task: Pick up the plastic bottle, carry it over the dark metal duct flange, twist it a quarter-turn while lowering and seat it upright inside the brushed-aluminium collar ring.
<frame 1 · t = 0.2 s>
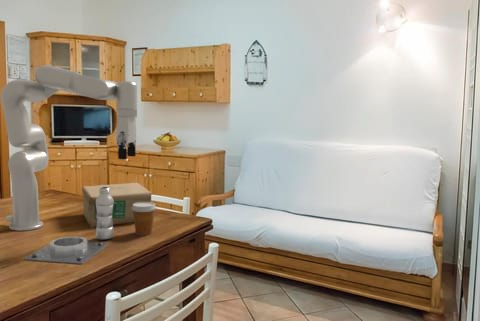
hand: (127, 157, 166), 31 cm above the table, fingers open, 9 cm apart
paper package: (116, 218, 194), on the table
duct flange: (68, 251, 148), on the table
plastic bottle: (104, 239, 163), on the table
disposable coffee cup: (143, 233, 171), on the table
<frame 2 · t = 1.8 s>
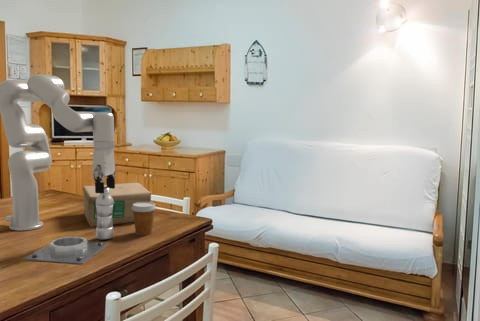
hand: (105, 190, 160), 19 cm above the table, fingers open, 9 cm apart
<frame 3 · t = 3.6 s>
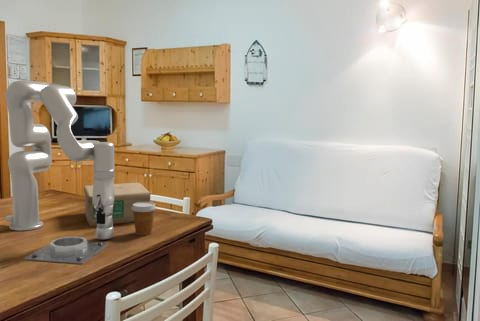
hand: (104, 221, 162), 7 cm above the table, fingers closed on plastic bottle, 5 cm apart
plastic bottle: (105, 239, 163), on the table, touching gripper
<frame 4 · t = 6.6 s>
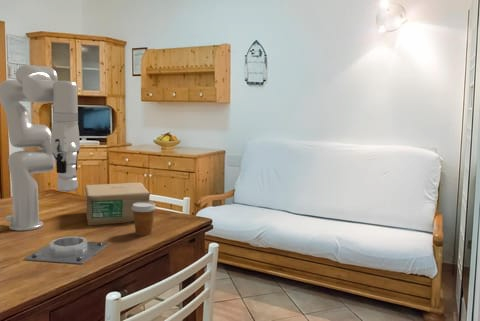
hand: (67, 171, 144), 28 cm above the table, fingers closed on plastic bottle, 5 cm apart
plastic bottle: (67, 192, 145), point 21 cm above the table, touching gripper
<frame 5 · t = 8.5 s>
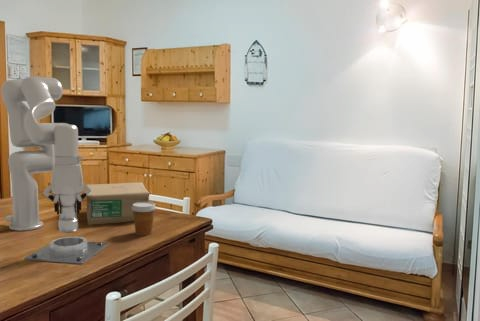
hand: (68, 212, 146), 14 cm above the table, fingers closed on plastic bottle, 5 cm apart
plastic bottle: (68, 232, 147), point 7 cm above the table, touching gripper
when the fingers open (8 cm above the table, at t = 9.9 s): plastic bottle stays where it is, resting on duct flange.
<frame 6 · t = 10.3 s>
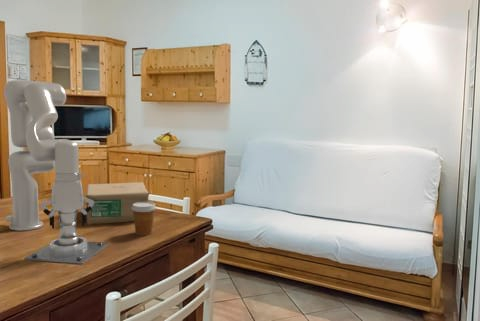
hand: (68, 226, 147), 9 cm above the table, fingers open, 9 cm apart
plastic bottle: (68, 250, 148), resting on duct flange
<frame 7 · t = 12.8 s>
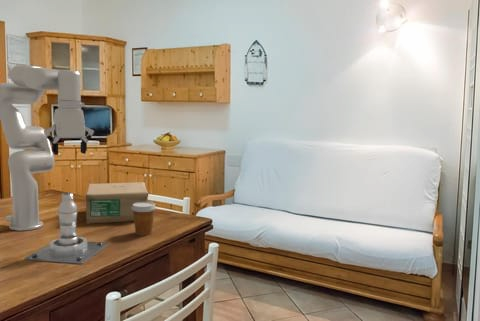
hand: (69, 153, 152), 33 cm above the table, fingers open, 9 cm apart
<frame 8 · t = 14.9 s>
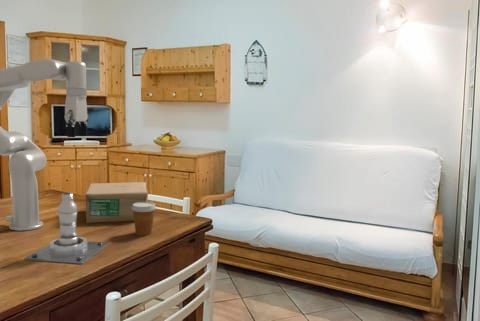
hand: (77, 136, 171), 38 cm above the table, fingers open, 9 cm apart
at the end: plastic bottle 0.1 cm off-centre on the duct flange, point 0.4 cm above the duct flange's base; plastic bottle tilted 0°; the gripper is holding nothing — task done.
